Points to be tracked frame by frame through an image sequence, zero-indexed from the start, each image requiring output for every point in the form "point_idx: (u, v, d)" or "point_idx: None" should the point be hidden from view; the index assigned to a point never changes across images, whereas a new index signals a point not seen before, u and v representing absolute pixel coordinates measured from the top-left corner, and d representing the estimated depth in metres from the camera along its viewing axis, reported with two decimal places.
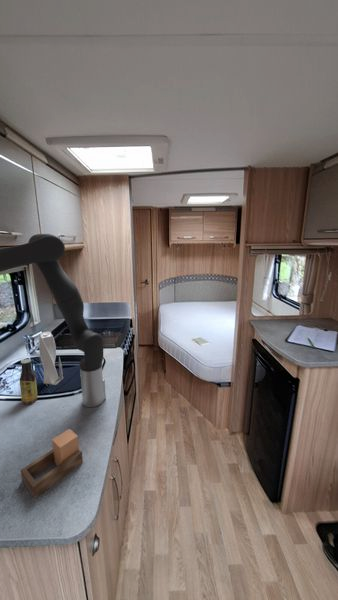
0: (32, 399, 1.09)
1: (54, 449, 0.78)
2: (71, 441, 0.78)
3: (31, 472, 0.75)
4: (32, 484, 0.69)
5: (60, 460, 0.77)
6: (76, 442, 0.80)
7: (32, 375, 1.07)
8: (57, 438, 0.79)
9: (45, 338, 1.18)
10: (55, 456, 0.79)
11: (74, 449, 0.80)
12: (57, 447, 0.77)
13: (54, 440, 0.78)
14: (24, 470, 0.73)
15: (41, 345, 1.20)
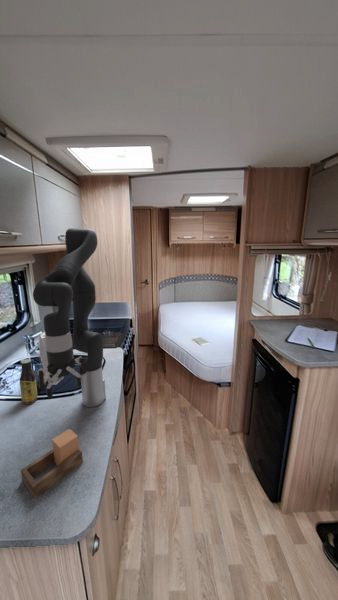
0: (32, 399, 1.09)
1: (54, 449, 0.78)
2: (71, 441, 0.78)
3: (31, 472, 0.75)
4: (32, 484, 0.69)
5: (60, 460, 0.77)
6: (76, 442, 0.80)
7: (32, 375, 1.07)
8: (57, 438, 0.79)
9: None
10: (55, 456, 0.79)
11: (74, 449, 0.80)
12: (57, 447, 0.77)
13: (54, 440, 0.78)
14: (24, 470, 0.73)
15: (41, 345, 1.20)
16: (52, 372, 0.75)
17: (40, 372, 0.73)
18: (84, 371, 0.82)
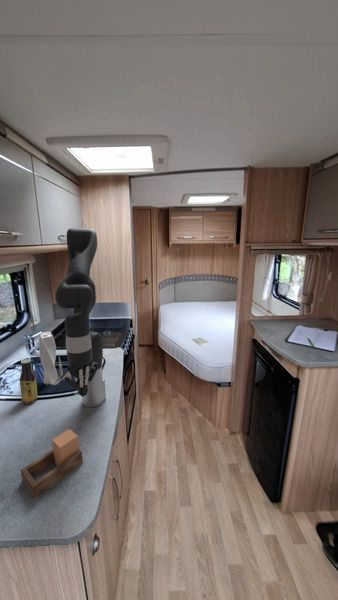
0: (32, 399, 1.09)
1: (54, 449, 0.78)
2: (71, 441, 0.78)
3: (31, 472, 0.75)
4: (32, 484, 0.69)
5: (60, 460, 0.77)
6: (76, 442, 0.80)
7: (32, 375, 1.07)
8: (57, 438, 0.79)
9: (45, 338, 1.18)
10: (55, 456, 0.79)
11: (74, 449, 0.80)
12: (57, 447, 0.77)
13: (54, 440, 0.78)
14: (24, 470, 0.73)
15: (41, 345, 1.20)
16: (75, 375, 0.77)
17: (66, 380, 0.75)
18: (91, 378, 0.82)
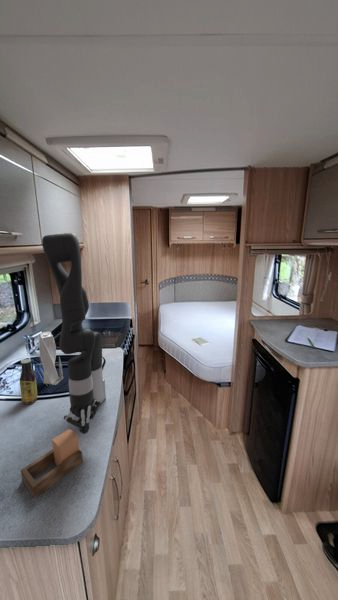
0: (32, 399, 1.09)
1: (54, 449, 0.78)
2: (71, 441, 0.78)
3: (31, 472, 0.75)
4: (32, 484, 0.69)
5: (60, 460, 0.77)
6: (76, 442, 0.80)
7: (32, 375, 1.07)
8: (57, 438, 0.79)
9: (45, 338, 1.18)
10: (55, 456, 0.79)
11: (74, 449, 0.80)
12: (57, 447, 0.77)
13: (54, 440, 0.78)
14: (24, 470, 0.73)
15: (41, 345, 1.20)
16: (77, 415, 0.81)
17: (68, 420, 0.78)
18: (92, 416, 0.85)
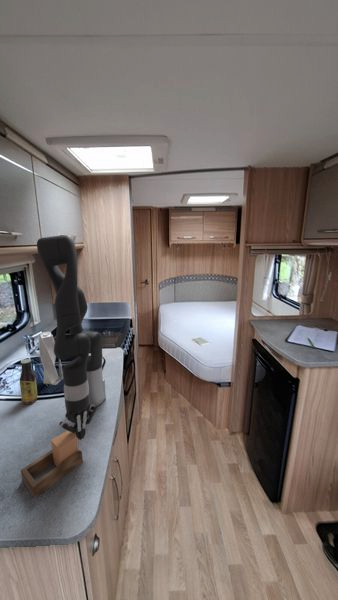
0: (32, 399, 1.09)
1: (53, 450, 0.78)
2: (71, 441, 0.78)
3: (31, 472, 0.75)
4: (32, 484, 0.69)
5: (59, 461, 0.77)
6: (75, 443, 0.80)
7: (32, 375, 1.07)
8: (56, 439, 0.78)
9: (45, 338, 1.18)
10: (54, 457, 0.79)
11: (74, 449, 0.80)
12: (56, 448, 0.76)
13: (53, 440, 0.78)
14: (24, 470, 0.73)
15: (41, 345, 1.20)
16: (73, 421, 0.79)
17: (64, 427, 0.77)
18: (88, 421, 0.84)
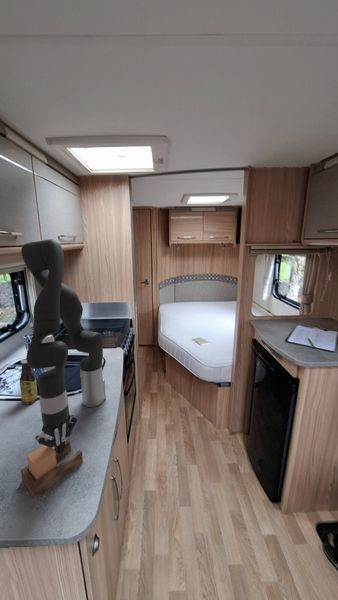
0: (32, 399, 1.09)
1: (29, 465, 0.73)
2: (48, 456, 0.73)
3: None
4: (32, 484, 0.69)
5: (35, 478, 0.71)
6: (53, 458, 0.74)
7: (32, 375, 1.07)
8: (32, 454, 0.73)
9: (45, 338, 1.18)
10: (30, 473, 0.73)
11: (51, 465, 0.74)
12: (32, 464, 0.71)
13: (29, 455, 0.72)
14: (24, 470, 0.73)
15: None
16: (51, 435, 0.74)
17: (40, 441, 0.71)
18: (68, 433, 0.78)
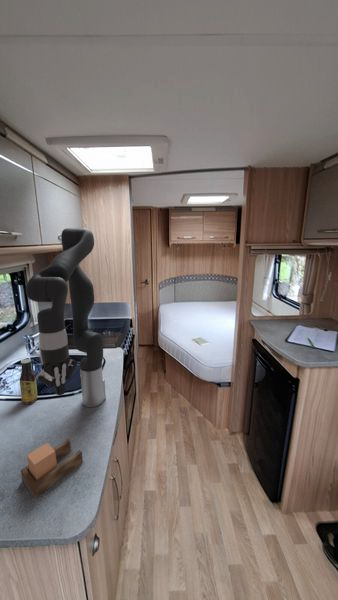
0: (32, 399, 1.09)
1: (29, 465, 0.73)
2: (48, 456, 0.73)
3: None
4: (32, 484, 0.69)
5: (35, 478, 0.71)
6: (53, 458, 0.74)
7: (32, 375, 1.07)
8: (32, 453, 0.73)
9: None
10: (30, 473, 0.73)
11: (52, 465, 0.74)
12: (32, 464, 0.71)
13: (29, 455, 0.72)
14: (24, 470, 0.73)
15: None
16: (51, 374, 0.73)
17: (39, 378, 0.70)
18: (68, 376, 0.78)
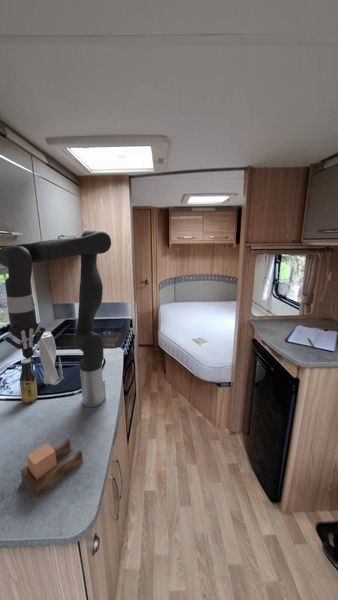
0: (32, 399, 1.09)
1: (29, 465, 0.73)
2: (48, 456, 0.73)
3: None
4: (32, 484, 0.69)
5: (35, 478, 0.71)
6: (53, 458, 0.74)
7: (32, 375, 1.07)
8: (32, 453, 0.73)
9: (45, 338, 1.18)
10: (30, 473, 0.73)
11: (52, 465, 0.74)
12: (32, 464, 0.71)
13: (29, 455, 0.72)
14: (24, 470, 0.73)
15: (41, 345, 1.20)
16: (18, 336, 0.79)
17: (6, 339, 0.76)
18: (36, 341, 0.84)
